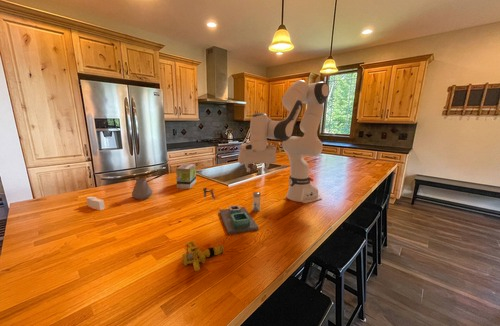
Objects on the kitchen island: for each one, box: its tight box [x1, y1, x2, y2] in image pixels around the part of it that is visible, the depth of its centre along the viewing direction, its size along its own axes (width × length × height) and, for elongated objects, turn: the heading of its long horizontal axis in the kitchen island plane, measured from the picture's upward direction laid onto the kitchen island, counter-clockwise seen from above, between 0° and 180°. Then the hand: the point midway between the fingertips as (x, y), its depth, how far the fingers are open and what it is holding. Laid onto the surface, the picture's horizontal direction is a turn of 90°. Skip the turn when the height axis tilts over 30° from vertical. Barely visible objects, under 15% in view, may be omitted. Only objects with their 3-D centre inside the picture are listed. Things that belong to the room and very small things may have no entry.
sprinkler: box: [181, 240, 224, 272], centre depth 75 cm, size 19×4×15 cm
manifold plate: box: [218, 204, 259, 236], centre depth 100 cm, size 14×22×4 cm, turn 18°
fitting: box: [252, 191, 261, 213], centre depth 111 cm, size 4×4×10 cm
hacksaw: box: [203, 187, 218, 201], centre depth 134 cm, size 24×10×2 cm, turn 14°
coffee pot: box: [131, 171, 169, 201], centre depth 127 cm, size 21×12×15 cm, turn 111°
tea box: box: [175, 163, 197, 190], centre depth 149 cm, size 15×10×15 cm
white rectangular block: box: [86, 196, 106, 211], centre depth 112 cm, size 15×11×6 cm
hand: (256, 171), depth 108 cm, fingers open, 8 cm apart
